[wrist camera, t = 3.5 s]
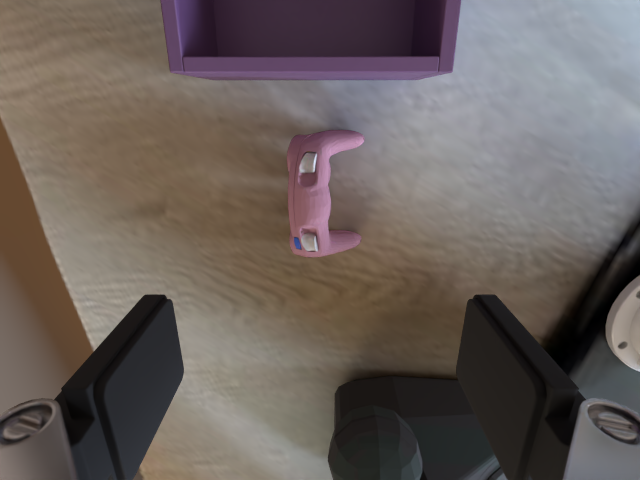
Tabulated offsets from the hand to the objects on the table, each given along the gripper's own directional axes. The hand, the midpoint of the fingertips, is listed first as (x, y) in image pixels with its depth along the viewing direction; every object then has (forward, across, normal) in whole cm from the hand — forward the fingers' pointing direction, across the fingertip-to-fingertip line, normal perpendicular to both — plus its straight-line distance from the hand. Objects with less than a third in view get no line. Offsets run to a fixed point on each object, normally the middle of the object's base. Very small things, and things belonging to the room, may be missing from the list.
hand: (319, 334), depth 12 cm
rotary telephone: (+20, +12, -32) cm, 40 cm away
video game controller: (+21, +1, 0) cm, 21 cm away
